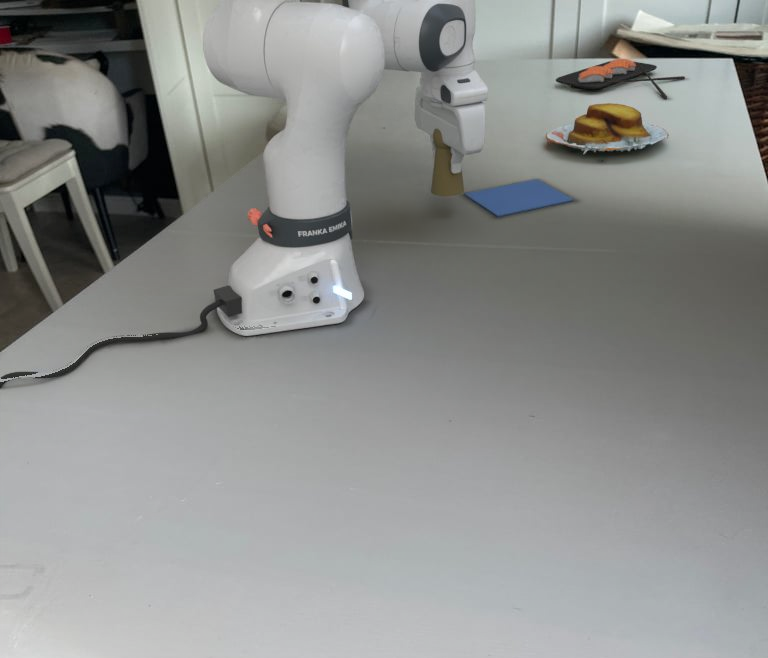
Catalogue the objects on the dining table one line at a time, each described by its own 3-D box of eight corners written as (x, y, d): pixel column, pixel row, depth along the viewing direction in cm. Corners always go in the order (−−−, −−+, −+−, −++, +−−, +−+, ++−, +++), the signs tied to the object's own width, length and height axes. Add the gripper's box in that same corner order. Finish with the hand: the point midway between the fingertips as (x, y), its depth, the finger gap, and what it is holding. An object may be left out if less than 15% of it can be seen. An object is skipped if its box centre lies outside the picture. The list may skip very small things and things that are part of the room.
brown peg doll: (462, 196, 143) (463, 130, 136) (428, 196, 144) (427, 130, 137) (466, 185, 148) (467, 120, 141) (433, 184, 149) (433, 120, 142)
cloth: (497, 217, 146) (497, 215, 146) (464, 195, 155) (464, 193, 155) (573, 200, 150) (573, 199, 150) (536, 180, 159) (536, 179, 159)
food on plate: (531, 158, 170) (533, 124, 166) (562, 125, 187) (564, 94, 183) (655, 168, 161) (661, 133, 157) (675, 133, 178) (681, 100, 174)
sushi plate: (615, 66, 227) (617, 51, 224) (712, 81, 210) (715, 65, 207) (550, 87, 213) (551, 71, 210) (648, 106, 195) (651, 88, 193)
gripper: (404, 71, 141) (407, 154, 150) (458, 97, 126) (457, 187, 135) (437, 66, 142) (437, 148, 151) (493, 91, 128) (490, 180, 137)
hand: (447, 167), depth 143 cm, fingers closed on brown peg doll, 4 cm apart
